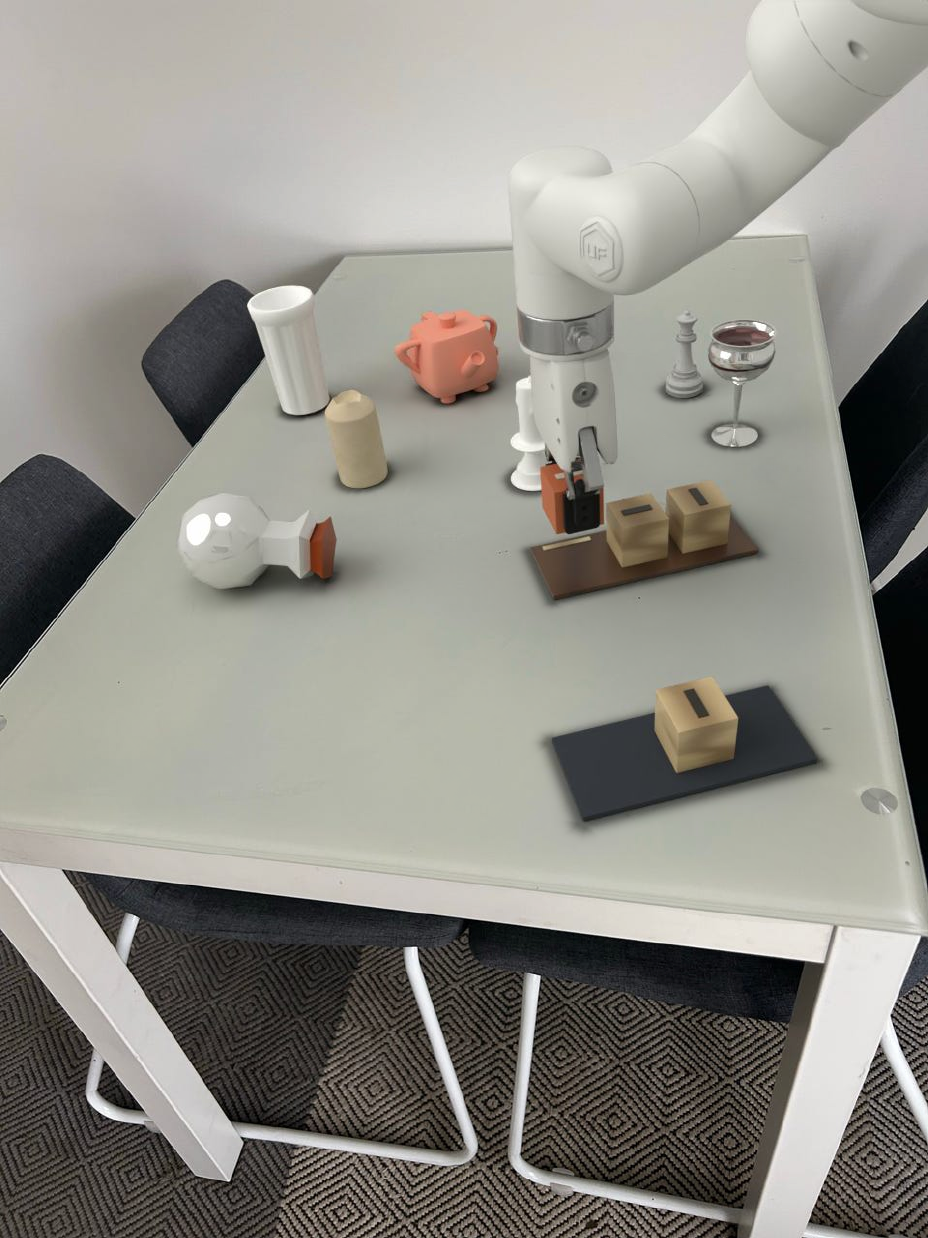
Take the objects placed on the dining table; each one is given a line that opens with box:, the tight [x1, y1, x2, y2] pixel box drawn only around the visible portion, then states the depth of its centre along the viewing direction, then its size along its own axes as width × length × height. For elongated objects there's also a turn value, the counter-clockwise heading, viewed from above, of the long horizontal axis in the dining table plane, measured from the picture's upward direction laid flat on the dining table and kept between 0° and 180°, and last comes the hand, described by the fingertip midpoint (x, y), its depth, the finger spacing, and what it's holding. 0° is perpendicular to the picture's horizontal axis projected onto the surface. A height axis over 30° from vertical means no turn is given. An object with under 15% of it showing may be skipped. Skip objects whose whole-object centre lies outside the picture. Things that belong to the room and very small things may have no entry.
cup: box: [246, 284, 330, 416], centre depth 116 cm, size 8×8×14 cm
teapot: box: [394, 309, 499, 404], centre depth 117 cm, size 12×12×10 cm
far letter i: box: [605, 492, 669, 567], centre depth 88 cm, size 4×4×5 cm
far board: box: [529, 514, 759, 600], centre depth 90 cm, size 20×8×1 cm, turn 102°
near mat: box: [551, 684, 819, 822], centre depth 71 cm, size 18×8×1 cm, turn 102°
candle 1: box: [324, 389, 389, 489], centre depth 103 cm, size 6×6×10 cm
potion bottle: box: [175, 492, 338, 590], centre depth 91 cm, size 9×10×15 cm
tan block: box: [654, 675, 738, 773], centre depth 69 cm, size 4×4×5 cm
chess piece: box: [665, 309, 704, 399], centre depth 110 cm, size 4×4×10 cm
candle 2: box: [510, 374, 552, 492], centre depth 98 cm, size 5×5×12 cm
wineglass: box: [707, 318, 778, 448], centre depth 100 cm, size 7×7×12 cm
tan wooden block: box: [665, 479, 732, 554], centre depth 89 cm, size 4×4×5 cm
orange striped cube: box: [540, 459, 605, 535], centre depth 84 cm, size 4×4×5 cm
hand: (573, 511), depth 85 cm, fingers closed on orange striped cube, 4 cm apart
